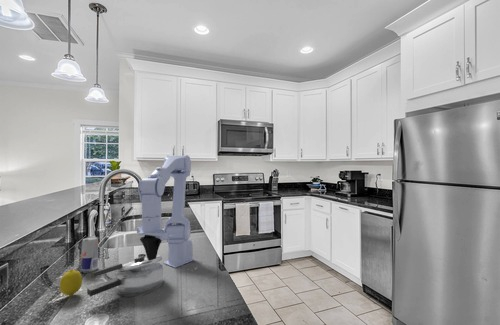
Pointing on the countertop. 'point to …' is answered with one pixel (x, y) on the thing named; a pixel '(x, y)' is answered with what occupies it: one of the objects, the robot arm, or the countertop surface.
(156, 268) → the pot
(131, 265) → the lid
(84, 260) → the energy drink
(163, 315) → the countertop surface
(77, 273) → the lemon
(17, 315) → the countertop surface
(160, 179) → the robot arm
